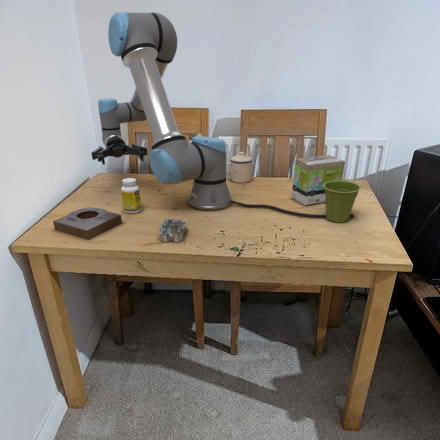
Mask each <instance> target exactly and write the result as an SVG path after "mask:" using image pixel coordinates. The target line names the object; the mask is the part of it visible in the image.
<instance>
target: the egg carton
mask: <svg viewBox="0 0 440 440" xmlns="http://www.w3.org/2000/svg"><path fill="white" fill-rule="evenodd" d="M186 226H187V221H186V220H183V221H182V220H181V219H173V218H171V219H169V218H168V217H165V218H164V219H163V222H162V223H161V224H160V226H159V228H158V229H157V231H158V234H159V238H160V241H162V242H164V243H167V242H169V241H174V243H178V242H181V241H183V239H184V236H185V233H186V231H187V229H186Z"/></svg>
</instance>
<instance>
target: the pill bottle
mask: <svg viewBox="0 0 440 440" xmlns="http://www.w3.org/2000/svg"><path fill="white" fill-rule="evenodd" d="M121 184H122V186H121V188H120V191H121V192H120V193H121V200H122V207H123V208H122V209H123V211H124V213H126V214H137V213H140V212H141V211H142V202H141V201H142V200H141V193H140V192H141V191H140V186H139V185H137V179H136V178H134V177H127V178H123V179H122V180H121Z"/></svg>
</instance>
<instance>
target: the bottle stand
mask: <svg viewBox="0 0 440 440" xmlns="http://www.w3.org/2000/svg"><path fill="white" fill-rule="evenodd" d="M52 223H53V227H54V230H55V231H58V232H61V233H64V234H67V235H71V236H75V237H77V238H82V239H84V240H88V241H89V240H91V239H93V238H95V237H97V236H99V235H101V234H103V233H105V232H107V231H109V230H112V229H113V228H115V227H117V226H120V225H121V224H123V220H122V214H119V213H116V212H112V211H108V210H107V209H105V208H102V207H92V206H86V207H84V208H79V209H76V210H73V211H71V212H69V213H68V214H66V215H65V216H62V217H60V218H58V219H55V220H53V221H52Z"/></svg>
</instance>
